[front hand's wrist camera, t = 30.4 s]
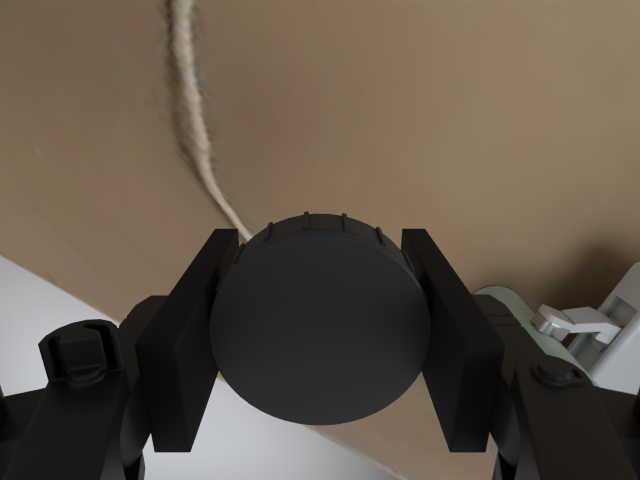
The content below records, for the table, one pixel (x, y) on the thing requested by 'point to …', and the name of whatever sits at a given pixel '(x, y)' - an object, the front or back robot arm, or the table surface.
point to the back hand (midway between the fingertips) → (512, 353)
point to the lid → (320, 321)
